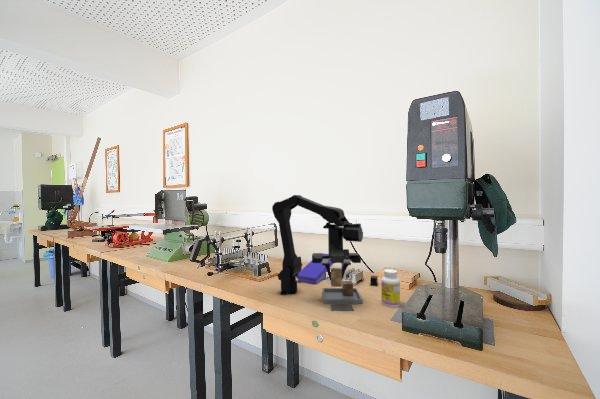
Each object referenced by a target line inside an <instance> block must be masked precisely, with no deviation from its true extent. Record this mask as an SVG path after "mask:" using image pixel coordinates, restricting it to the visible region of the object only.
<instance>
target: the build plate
mask: <svg viewBox="0 0 600 399" xmlns="http://www.w3.org/2000/svg"><path fill="white" fill-rule="evenodd" d="M378 279H379V278H378V275H370V286H371V287H377V286H378V284H379V281H378Z"/></svg>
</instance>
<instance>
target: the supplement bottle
mask: <svg viewBox="0 0 600 399" xmlns="http://www.w3.org/2000/svg"><path fill="white" fill-rule="evenodd" d="M383 274H384V276H382V277H381V304H382V305H383V306H386V307H391V308H396V307H400V304H401V289H400V288H401V280H400V278H399V277H398V276H397V275H398V271H397V270H396V269H391V268H390V269H387V268H386V269H384V270H383Z"/></svg>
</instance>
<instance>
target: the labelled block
mask: <svg viewBox="0 0 600 399" xmlns="http://www.w3.org/2000/svg"><path fill="white" fill-rule="evenodd" d="M330 269H331V280H330V286H331V287H330V288H342V281H343V279H342V271H341V268H338V267H337V268H333V267H332V268H330Z"/></svg>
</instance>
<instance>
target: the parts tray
mask: <svg viewBox="0 0 600 399" xmlns="http://www.w3.org/2000/svg"><path fill="white" fill-rule="evenodd" d="M322 299H323V304H324V305H326V304H327V305H363V302H364V300H363V298H362V296H361V294H360V291H359V290H358V288H356V287H353V296H343V294H342V287H323V288H322Z"/></svg>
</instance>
